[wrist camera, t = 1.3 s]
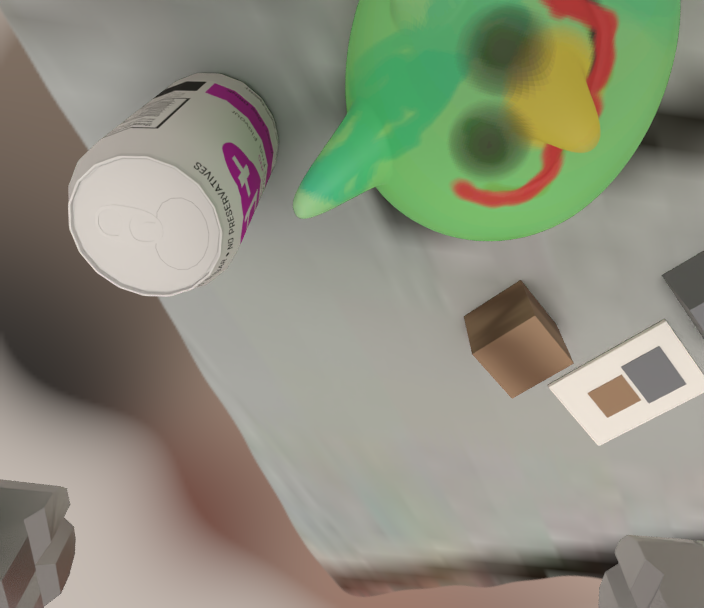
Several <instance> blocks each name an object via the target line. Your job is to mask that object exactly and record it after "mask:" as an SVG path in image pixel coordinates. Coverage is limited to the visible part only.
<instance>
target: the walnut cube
mask: <svg viewBox="0 0 704 608" xmlns="http://www.w3.org/2000/svg"><path fill="white" fill-rule="evenodd" d="M464 319H465V324H466V328H467V333H468V337H469V342H470V346H471V351H472V355H473V356H474V357H475V358H476V359H477V360H478V361H479V362H480V363H481V365H482V366H483V367H484V368H485V369H486V370H487V371H488V372H489V373H490V375H491V376H492V377H493V378H494V379H495V380H496V381H497V382H498V384H499V385H500V386H501V387H502V388H503V389H504V390H505V391H506V392H507V394H508V395H509V396H510V397H511V398H514V397H516V396H517V395H519V394H521V393H523V392H524V391H526V390H528V389H530V388H531V387H533V386H535V385H537V384H538V383H540V382H542V381H544V380H546V379H547V378H549V377H551V376H553V375H554V374H556V373H558V372H560V371H561V370H563V369H565V368H567V367H568V366H570V365H572V364H574V363H573V361H572V358H571V356H570V354H569V352H568V349H567V347H566V345H565V343H564V340H563V338H562V336H561V334H560V331H559V329H558V327H557V325H556V324H555V322H554V321H553V320H552V319H551V317H550V316H549V315H548V314H547V312H546V311H545V310H544V309H543V307H542V306H541V305H540V304H539V302H538V301H537V300H536V298H535V297H534V296H533V295H532V293H531V292H530V291H529V290H528V288H527V287H526V286H525V285H524V283H523V282H522V281H521V280H520V281H518V282H517V283H515V284H513V285H512V286H510V287H509V288H507V289H506V290H504V291H503V292H501V293H499V294H498V295H496V296H495V297H493V298H492V299H490V300H489V301H487V302H485V303H484V304H482V305H481V306H479V307H478V308H476V309H475V310H473V311H471V312H470V313H468V314H467V315H465V316H464Z"/></svg>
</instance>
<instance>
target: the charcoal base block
mask: <svg viewBox="0 0 704 608" xmlns="http://www.w3.org/2000/svg"><path fill="white" fill-rule="evenodd" d="M662 276H663V278H664V279H665V281H666V282H667V284H668V285H669V287H670V288H671V290H672V291H673V293H674V294H675V296H676V298H677V299H678V301H679V302H680V304H681V305H682V307H683V308H684V310H685V311H686V313H687V314H688V316H689V317H690V319H691V320H692V322H693V323H694V325H695V326H696V328H697V329H698V331H699V332H700V334H701V335H702V337H703V338H704V251H702V252H701V253H699V254H697V255H696V256H694V257H692V258H690V259H689V260H687V261H685V262H684V263H682V264H680V265H679V266H677V267H675V268H673V269H672V270H670V271H668V272H667V273H665V274H663V275H662Z"/></svg>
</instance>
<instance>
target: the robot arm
mask: <svg viewBox="0 0 704 608" xmlns="http://www.w3.org/2000/svg"><path fill="white" fill-rule="evenodd" d="M69 506H70V501H69V497H68V492H67V488H64V487H61V486H52V485H44V484H35V483H26V482H18V481H9V480H0V608H44V606H45V605H47V604H48V603H49V602H51V601H52V600H53V599H55V598H56V597H57V596H59V595H60V594H61V592H62V590H63V588H64V586H65V584H66V581H67V579H68V577H69V574H70V570H71V566H72V563H73V559H74V555H75V532H74V526H72V525H71V524H70V523H69V522H68V521H67V520H66V519H65V518H64V516H65V514H66V512H67V510H68V508H69ZM615 554H616V557H617V559H618V562H619V564H617V565H616V566H614V567H613V568H611V569H609V570H608V571H606V572H605V574H604V577H603V580H602V582H601V585H600V588H599V608H704V541H697V540H695V541H692V540H689V539H676V538H662V537H649V536H636V535H626V536H625V537H624V538H622V539H621V540H620V541H619V543H618V545H617V548H616V550H615Z"/></svg>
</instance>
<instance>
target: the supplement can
mask: <svg viewBox="0 0 704 608" xmlns="http://www.w3.org/2000/svg"><path fill="white" fill-rule="evenodd" d="M278 143H279V139H278V135H277V130H276V126H275V121H274V118H273V116H272V114H271V113H270V111H269V110H268V108H267V106H266V105H265V103H264V101H263V100H262V98H261V97H260V96H258V95H257V94H256V93H255V92H254V91H252V90H251V89H250V88H249V87H248V86H247V85H245V84H244V83H243V82H241V81H238V80H236V79H233V78H230V77H228V76H225V75H223V74H220V73H196V74H193V75H190V76H188V77H185V78H182V79H180V80H177V81H175V82H174V83H173V84H172V85H170V86H169V87H168V88H166V89H165V90H164V91H162V92H161V93H160V94H159V95H157V96H156V97H155V98H153V99H152V100H151V101H150V102H148V103H147V104H146V105H144V106H143V107H142V108H141V109H139V110H138V111H137V112H135V113H134V114H133V115H132V116H130V117H129V118H128V119H126V120H125V121H124V122H123V123H121V124H120V125H119V126H117V127H116V128H115V129H114V130H112V131H111V132H110V133H108V134H107V135H106V136H105V137H103V138H102V139H101V140H99V141H98V142H97V143H96V144H95V145H94V146H93V147H92V148H91V149H90V150H89V151H88V152H87V153H86V154H85V155H84V156H83V157H82V158H81V159H80V160H79V161H78V162H77V165H76V168H75V171H74V173H73V176H72V178H71V181H70V184H69V187H68V190H69V203H68V211H69V229H70V231H71V234H72V236H73V238H74V241H75V243H76V246H77V248H78V250H79V252H80V254H81V255H82V256H83V257H84V258H85V259H86V260H87V262H88V263H89V264H90V265H91V266H92V268H93V269H94V270H95V271H96V272H97V273H98V274H100V275H101V276H103V277H104V278H105V279H107V280H109V281H110V282H111V283H113V284H114V285H116V286H118V287H119V288H122V289H125V290H128V291H131V292H134V293H137V294H140V295H143V296H167V297H169V296H173V295H176V294H179V293H183V292H186V291H189V290H192V289H193V288H196V287H200V286H203V285H206V284H208V283H209V282H211V281H212V280H213V279H214V278H216V277H217V276H218V275H220V274H221V273H222V272H223V271H225V270H226V269H227V268H228V266H229V264H230V263H231V261H232V259H233V257H234V255H235V254H236V252H237V250H238V248H239V246H240V244H241V242H242V239H243V237H244V235H245V233H246V230H247V228H248V226H249V223H250V221H251V219H252V216H253V214H254V212H255V209H256V207H257V205H258V202H259V200H260V198H261V195H262V193H263V191H264V188H265V186H266V184H267V182H268V179H269V177H270V175H271V172H272V170H273V168H274V165H275V163H276V158H277V151H278Z"/></svg>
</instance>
